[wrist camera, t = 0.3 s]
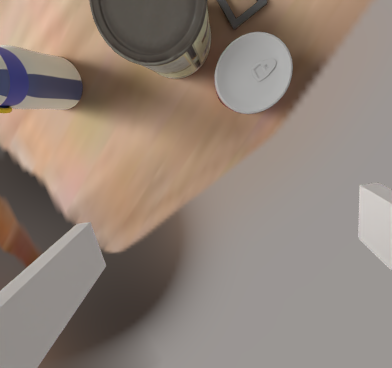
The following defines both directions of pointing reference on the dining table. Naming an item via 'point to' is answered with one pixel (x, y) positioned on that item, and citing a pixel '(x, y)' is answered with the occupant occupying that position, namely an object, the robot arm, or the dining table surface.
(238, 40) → the canned food
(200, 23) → the coffee can
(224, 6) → the gray rectangular frame
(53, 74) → the water bottle
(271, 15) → the dining table surface
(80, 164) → the dining table surface
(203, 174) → the dining table surface
